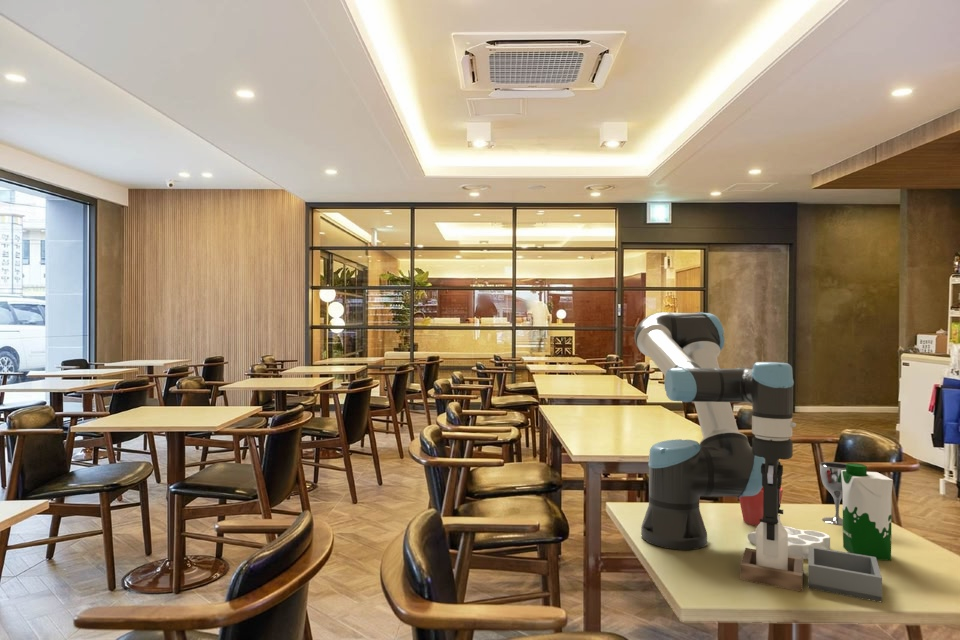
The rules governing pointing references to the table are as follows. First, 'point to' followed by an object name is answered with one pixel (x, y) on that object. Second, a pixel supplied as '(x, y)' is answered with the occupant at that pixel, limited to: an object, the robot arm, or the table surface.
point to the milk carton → (866, 512)
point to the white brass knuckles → (801, 541)
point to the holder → (772, 572)
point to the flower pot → (753, 507)
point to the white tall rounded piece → (782, 558)
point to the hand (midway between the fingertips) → (771, 549)
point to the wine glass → (833, 486)
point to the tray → (844, 573)
